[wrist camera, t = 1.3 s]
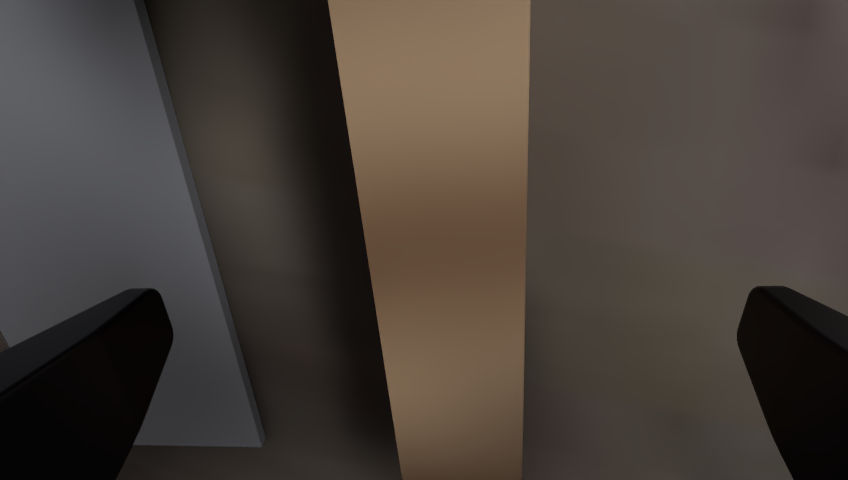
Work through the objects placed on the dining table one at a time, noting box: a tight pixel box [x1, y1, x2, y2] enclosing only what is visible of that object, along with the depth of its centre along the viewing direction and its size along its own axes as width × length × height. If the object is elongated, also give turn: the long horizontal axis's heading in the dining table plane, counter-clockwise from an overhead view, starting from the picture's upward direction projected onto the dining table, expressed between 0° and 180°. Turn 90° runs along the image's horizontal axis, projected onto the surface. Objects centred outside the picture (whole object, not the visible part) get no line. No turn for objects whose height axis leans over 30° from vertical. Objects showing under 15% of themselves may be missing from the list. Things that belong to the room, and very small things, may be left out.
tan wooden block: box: [328, 0, 530, 480], centre depth 11 cm, size 14×3×5 cm, turn 5°
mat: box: [0, 0, 266, 447], centre depth 15 cm, size 16×7×1 cm, turn 2°
